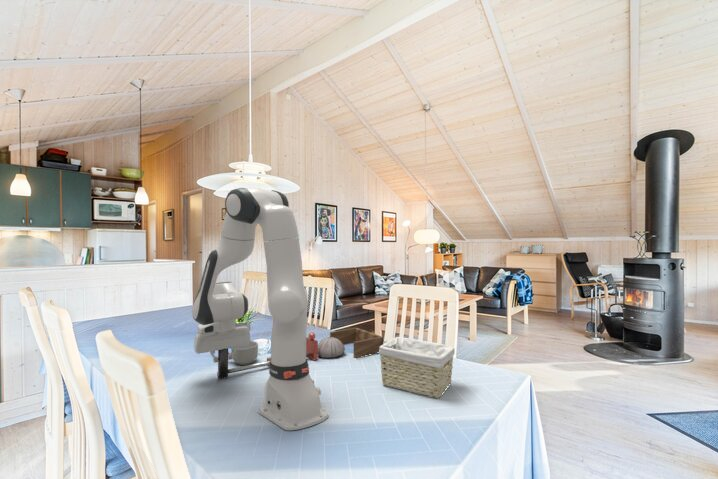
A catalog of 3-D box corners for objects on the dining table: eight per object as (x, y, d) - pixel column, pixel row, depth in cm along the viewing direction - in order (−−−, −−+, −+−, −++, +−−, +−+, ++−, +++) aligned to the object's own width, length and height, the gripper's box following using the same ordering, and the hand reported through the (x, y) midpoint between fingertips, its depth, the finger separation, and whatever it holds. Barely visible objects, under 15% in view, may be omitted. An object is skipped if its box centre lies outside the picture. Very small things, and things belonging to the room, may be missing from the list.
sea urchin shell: (310, 357, 157) (310, 340, 157) (323, 349, 170) (323, 332, 170) (337, 361, 152) (338, 343, 152) (348, 352, 165) (348, 335, 165)
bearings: (305, 362, 150) (305, 355, 150) (272, 370, 142) (272, 362, 142) (299, 358, 155) (299, 351, 155) (266, 365, 147) (266, 357, 147)
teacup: (261, 358, 155) (262, 340, 155) (252, 367, 144) (252, 348, 144) (231, 357, 156) (231, 339, 156) (219, 366, 146) (219, 347, 146)
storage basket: (456, 385, 127) (456, 345, 127) (441, 403, 114) (441, 357, 114) (396, 372, 140) (396, 335, 140) (377, 386, 126) (377, 345, 126)
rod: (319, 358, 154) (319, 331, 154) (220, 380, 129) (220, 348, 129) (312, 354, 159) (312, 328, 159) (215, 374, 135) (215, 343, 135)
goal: (383, 351, 165) (383, 337, 165) (355, 358, 156) (355, 342, 156) (356, 340, 183) (356, 327, 183) (329, 346, 174) (330, 332, 174)
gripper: (247, 319, 142) (247, 353, 142) (193, 326, 130) (192, 363, 130) (253, 322, 137) (252, 357, 137) (196, 329, 125) (196, 368, 125)
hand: (223, 360), depth 133 cm, fingers open, 4 cm apart
